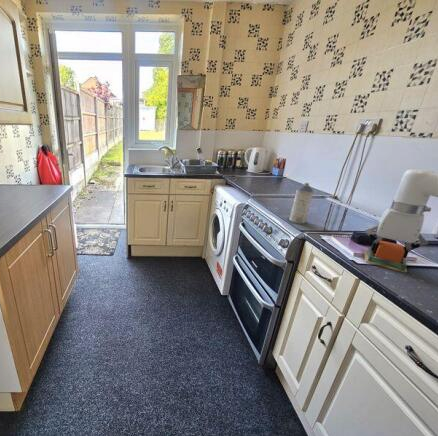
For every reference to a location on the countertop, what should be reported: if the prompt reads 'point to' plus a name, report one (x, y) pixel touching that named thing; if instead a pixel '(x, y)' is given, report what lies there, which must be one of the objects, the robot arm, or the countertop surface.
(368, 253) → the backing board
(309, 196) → the aerosol can
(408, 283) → the countertop surface
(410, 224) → the robot arm
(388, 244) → the orange block
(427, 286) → the countertop surface
